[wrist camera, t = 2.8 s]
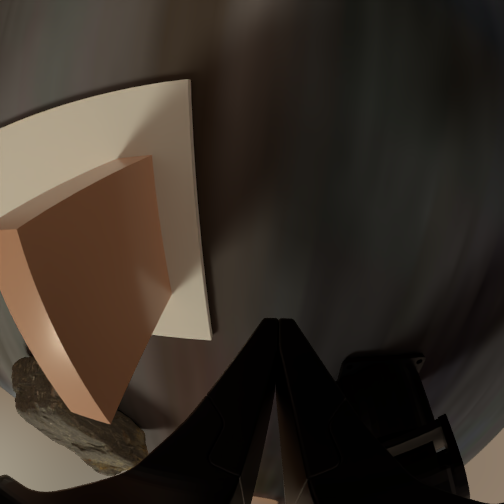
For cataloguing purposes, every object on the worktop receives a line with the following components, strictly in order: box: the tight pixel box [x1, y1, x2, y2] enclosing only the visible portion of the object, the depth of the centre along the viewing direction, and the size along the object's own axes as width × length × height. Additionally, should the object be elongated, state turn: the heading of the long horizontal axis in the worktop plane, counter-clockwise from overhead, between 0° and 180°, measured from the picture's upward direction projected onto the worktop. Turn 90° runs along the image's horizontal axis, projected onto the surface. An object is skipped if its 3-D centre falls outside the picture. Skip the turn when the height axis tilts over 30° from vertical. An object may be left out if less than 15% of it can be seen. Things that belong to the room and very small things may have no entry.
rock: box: [11, 356, 148, 476], centre depth 23 cm, size 17×7×10 cm
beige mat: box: [0, 79, 212, 340], centre depth 16 cm, size 18×15×1 cm
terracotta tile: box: [0, 155, 172, 424], centre depth 11 cm, size 2×8×9 cm, turn 1°
